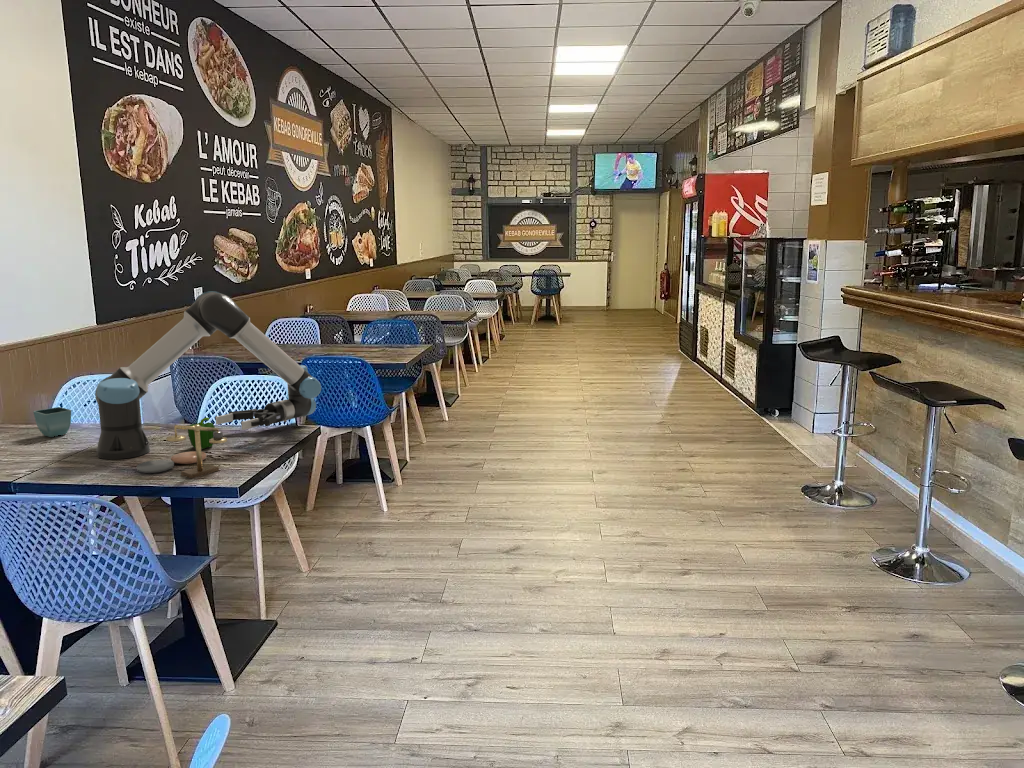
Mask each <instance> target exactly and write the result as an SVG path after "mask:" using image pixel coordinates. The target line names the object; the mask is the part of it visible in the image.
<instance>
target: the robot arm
mask: <svg viewBox="0 0 1024 768" xmlns="http://www.w3.org/2000/svg"><path fill="white" fill-rule="evenodd" d="M216 331H219V332H221V333H222V334H224V335H225V336H226V337H228V338H229V339H234V340H236V341H237V342H238V343H239V344H240V345H242V346H243V347H244V348H245V349H246V350H248V351H249V352H250V354H251V353H252V355H254V357H256V358H257V359H258V360H260V361H261V362H262V364H264V365H265V366H267V367H268V368H269V369H270V370H271V371H273V373H275V375H277V376H278V377H279V378H281V379H282V380H283V381H284V382H285V383H286V384H287V398H288V399H283V400H279V401H274V402H269V403H267V404H266V405H265V406H264V408H259V409H257V408H252V409H246V410H244V409H243V410H237V411H228V413H227V414H226V413H225V414H223V415H222V414H221V415H218V416H215V425H216V426H217V425H218V426H219V425H222V424H226V423H233V422H234V421H239V420H240V421H241V430H242V431H244V430H248V429H253V428H256V427H259V426H260V427H263V426H265V427H269V426H271V425H272V424H277V423H282V422H284V423H287V421H289V420H292V419H293V420H294V419H298V418H302V417H303V418H304V417H306V416H309V415H312V414H314V413H315V412H316V410H317V409H316V408H317V402H316V401H315V398H317V397H318V396H319V394H320V393H321V391H322V384H321V382H320V381H319V380H318V379H317V378H316V377H314V376H312V375H311V374H310V373H309V371H308V366H306V365H303V364H299V363H298V362H296V360H294V359H293V358H292V357H291V356H289V355H288V354H287V353H286V352H285V350H283V349H282V348H280V347H279V346H278V345H277V344H276V343H275V342H273V341H272V340H271V338H269V337H268V335H266V334H265V333H263V332H262V330H260V329H259V328H258V327H257V326H255V325H254V324H253V323H252V322H251V317H249V315H247V313H245V311H243V310H242V308H240V307H239V306H238V304H237V303H236V302H235V301H234V300H233V299H232V298H231V297H230V296H229V295H226V294H224V293H220V292H219V291H215V290H214V291H206V292H203V293H201V294H200V295H197V297H196V299H194V301H193V303H192V304H191V305H190V306H188V308H186V309H185V310H184V312H183V318H182V319H181V320H180V321H179V322H178V323H176V324H175V325H174V326H173V327H172V328H171V329H170V330H169V331H167V332H166V333H165V334H163V336H161V338H159V339H158V340H157V341H156V342H155V343H154V344H152V346H150V347H149V348H148V349H147V350H145V351H144V352H143V353H142V354H141V355H139V357H137V359H136V360H134V361H133V362H132V363H131V364H129V366H121V367H119V368H117V370H116V371H115V372H113V373H112V374H111V375H109V376H106V377H105V378H103V379H101V381H99V382H98V384H97V386H96V389H95V391H94V392H95V393H94V395H95V396H94V397H95V398H94V399H95V401H96V404H97V405H98V414H99V423H100V434H99V438H98V442H97V446H96V457H97V458H100V459H103V460H123V459H124V460H125V459H130V458H131V459H132V458H135V457H140V456H144V455H146V454H148V453H150V451H151V446H150V445H151V444H150V442H149V440H148V438H147V435H146V433H145V431H144V430H143V429H144V428H143V424H142V413H141V403H140V402H141V401H140V399H141V398H143V397H144V396H145V395H146V394H147V393H148V392H149V385H150V384H152V382H154V381H155V380H156V379H157V378H158V377H159V376H160V375H161V374H162V373H164V372H165V371H166V370H167V369H168V368H169V367H170V366H171V365H172V364H174V363H175V362H176V361H177V360H178V359H179V358H180V357H181V356H182V355H184V354H185V353H187V351H188V350H189V349H190V348H192V347H193V346H194V345H195V344H196V343H197V342H198V341H199V340H201V339H202V338H203V337H211V335H213V334H214V333H216Z"/></svg>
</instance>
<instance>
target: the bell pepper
mask: <svg viewBox="0 0 1024 768" xmlns="http://www.w3.org/2000/svg"><path fill="white" fill-rule="evenodd" d="M206 421H207V422H206ZM208 421H210V417H202V419H201V420H200V422H197V423H191V424H189V426H194V425H200V426H201V427H210V428H216V427H215V425H214V423H213V422H208ZM204 422H206V423H204ZM213 432H216V431H204V430H200V440H201V450H204V449H206V448H207V447H208V448H212V447H213V445H214V444H211V443H209V440H210V439H212V438H213ZM187 435H188V438H189V441H190V444H191V446H192V447H193V448H194V449H195V450H196V443H195V431H194V430H188V429H187Z"/></svg>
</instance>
